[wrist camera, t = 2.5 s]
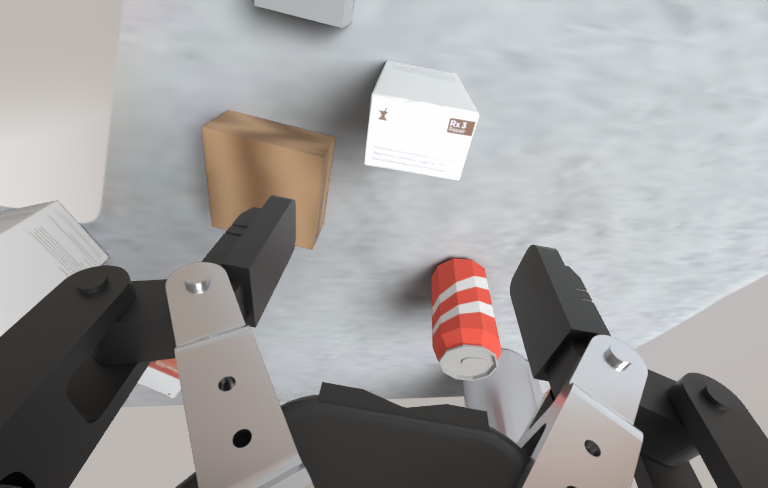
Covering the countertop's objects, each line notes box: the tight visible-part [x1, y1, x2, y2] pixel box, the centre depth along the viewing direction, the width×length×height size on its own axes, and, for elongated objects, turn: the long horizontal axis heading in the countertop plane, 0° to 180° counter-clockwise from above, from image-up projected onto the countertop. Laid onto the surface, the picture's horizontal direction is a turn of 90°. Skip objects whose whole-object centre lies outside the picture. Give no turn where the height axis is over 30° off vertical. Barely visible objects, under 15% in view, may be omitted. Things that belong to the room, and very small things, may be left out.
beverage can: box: [431, 258, 502, 381], centre depth 36 cm, size 6×6×12 cm
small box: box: [137, 358, 181, 399], centre depth 45 cm, size 8×6×10 cm
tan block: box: [202, 110, 336, 250], centre depth 33 cm, size 10×10×5 cm
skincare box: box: [363, 61, 479, 181], centre depth 24 cm, size 6×4×12 cm
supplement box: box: [0, 201, 109, 336], centre depth 37 cm, size 9×9×15 cm
